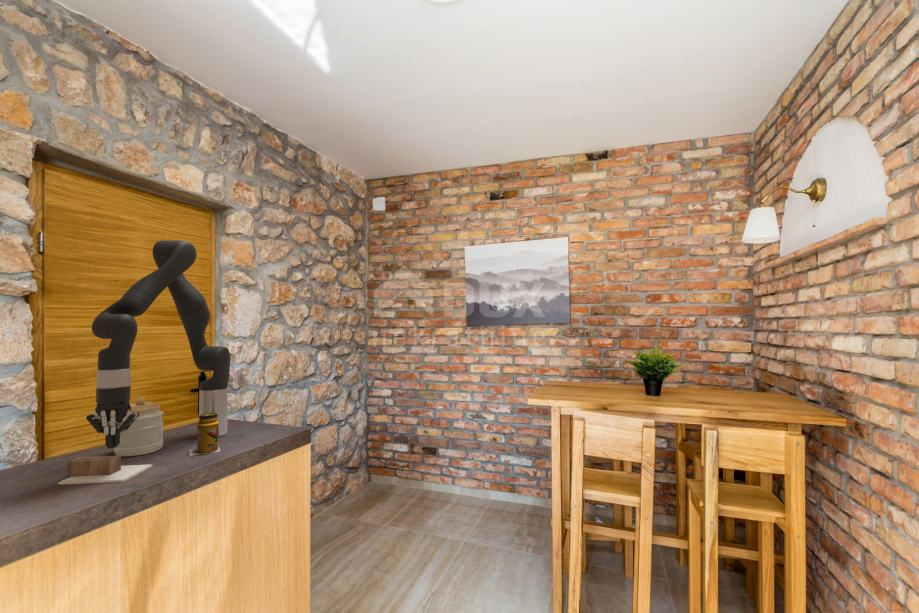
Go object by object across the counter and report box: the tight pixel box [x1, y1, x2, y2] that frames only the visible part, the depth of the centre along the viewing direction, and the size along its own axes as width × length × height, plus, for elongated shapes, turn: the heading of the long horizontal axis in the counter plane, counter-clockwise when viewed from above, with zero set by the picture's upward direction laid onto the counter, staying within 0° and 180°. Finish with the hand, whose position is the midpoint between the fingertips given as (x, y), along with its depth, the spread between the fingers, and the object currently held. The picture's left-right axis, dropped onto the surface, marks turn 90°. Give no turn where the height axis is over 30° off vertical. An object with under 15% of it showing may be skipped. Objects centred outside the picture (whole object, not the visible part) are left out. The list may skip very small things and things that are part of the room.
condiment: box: [189, 413, 221, 457], centre depth 139 cm, size 7×8×12 cm
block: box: [66, 455, 122, 478], centre depth 117 cm, size 4×4×11 cm
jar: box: [113, 396, 165, 457], centre depth 140 cm, size 13×13×18 cm
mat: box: [58, 464, 153, 485], centre depth 117 cm, size 12×16×1 cm
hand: (112, 447), depth 118 cm, fingers closed
